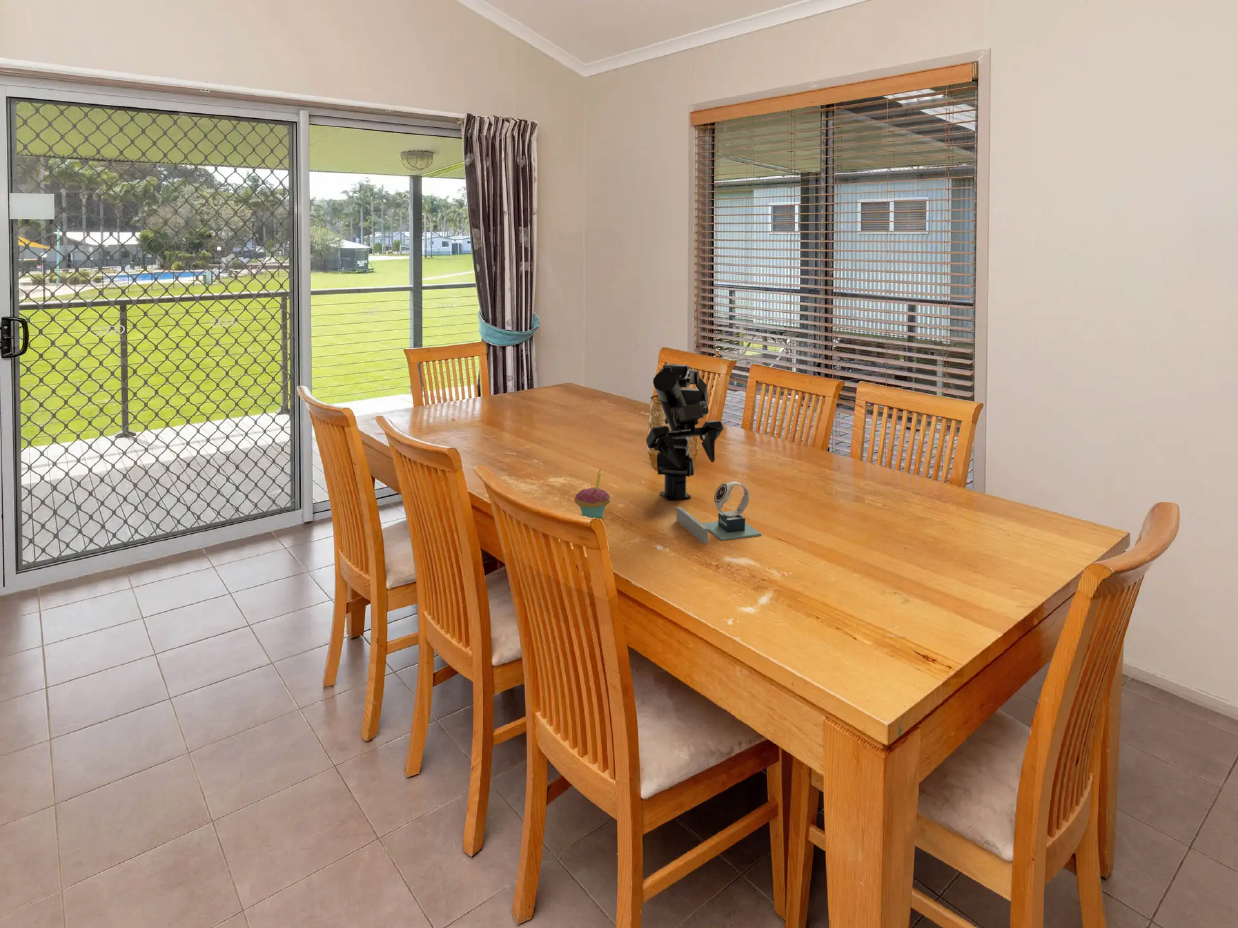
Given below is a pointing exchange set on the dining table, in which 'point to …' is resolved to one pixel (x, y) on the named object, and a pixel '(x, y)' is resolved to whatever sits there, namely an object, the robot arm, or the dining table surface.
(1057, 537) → the dining table surface
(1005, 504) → the dining table surface
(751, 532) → the mat
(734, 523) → the watch
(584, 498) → the cupcake
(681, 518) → the acrylic wall
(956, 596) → the dining table surface
